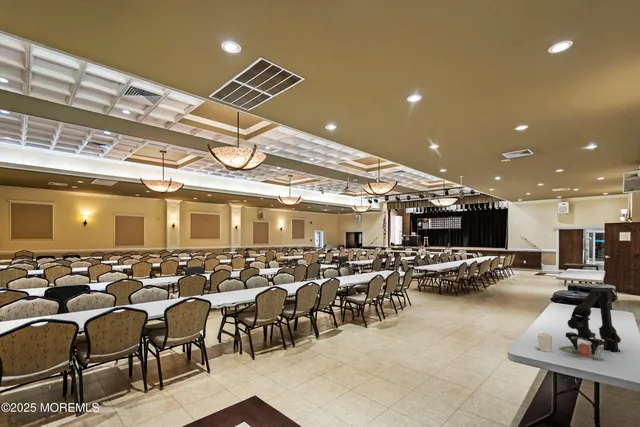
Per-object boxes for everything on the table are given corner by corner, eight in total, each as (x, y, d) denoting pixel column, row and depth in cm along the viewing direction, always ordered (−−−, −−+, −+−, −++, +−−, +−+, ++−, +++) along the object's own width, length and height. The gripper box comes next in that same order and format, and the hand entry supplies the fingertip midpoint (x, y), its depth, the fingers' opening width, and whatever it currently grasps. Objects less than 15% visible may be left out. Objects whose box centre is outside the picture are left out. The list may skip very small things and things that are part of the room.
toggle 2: (594, 348, 208) (594, 342, 209) (591, 348, 208) (591, 343, 208) (590, 346, 211) (589, 341, 211) (586, 347, 210) (586, 341, 211)
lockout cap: (592, 356, 197) (591, 346, 198) (586, 357, 196) (585, 346, 197) (583, 353, 202) (583, 343, 203) (578, 354, 201) (577, 344, 202)
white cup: (547, 348, 213) (546, 333, 214) (556, 352, 205) (555, 336, 206) (535, 348, 213) (534, 333, 214) (544, 352, 205) (543, 336, 206)
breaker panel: (598, 351, 207) (598, 349, 207) (587, 352, 205) (586, 350, 205) (580, 345, 218) (580, 343, 218) (570, 346, 215) (569, 345, 216)
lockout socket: (584, 351, 206) (583, 349, 206) (571, 353, 204) (571, 351, 204) (571, 347, 214) (571, 345, 214) (559, 348, 211) (559, 347, 212)
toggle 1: (589, 348, 207) (588, 343, 207) (585, 349, 206) (585, 343, 207) (584, 347, 210) (584, 341, 210) (581, 347, 209) (580, 342, 210)
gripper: (608, 329, 195) (610, 355, 193) (575, 322, 212) (576, 346, 211) (597, 331, 191) (599, 358, 190) (564, 324, 208) (565, 348, 207)
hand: (584, 352), depth 199 cm, fingers open, 9 cm apart
